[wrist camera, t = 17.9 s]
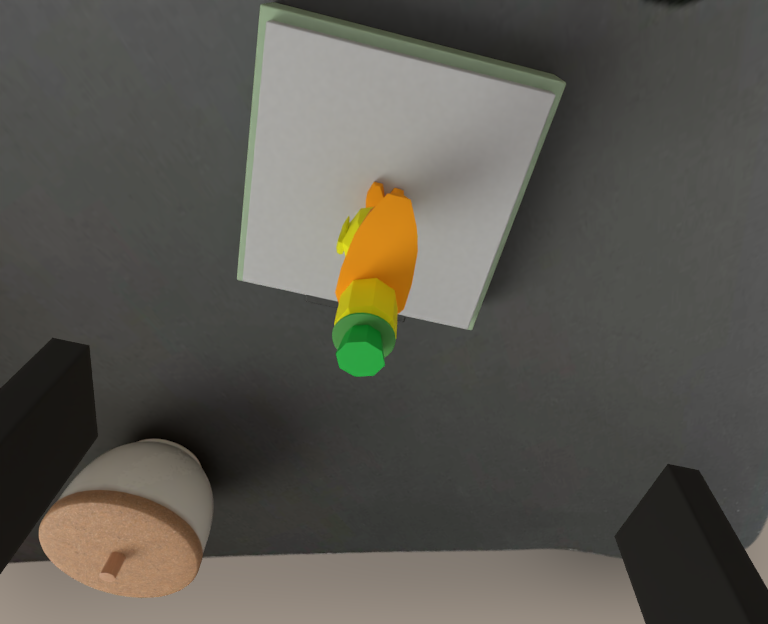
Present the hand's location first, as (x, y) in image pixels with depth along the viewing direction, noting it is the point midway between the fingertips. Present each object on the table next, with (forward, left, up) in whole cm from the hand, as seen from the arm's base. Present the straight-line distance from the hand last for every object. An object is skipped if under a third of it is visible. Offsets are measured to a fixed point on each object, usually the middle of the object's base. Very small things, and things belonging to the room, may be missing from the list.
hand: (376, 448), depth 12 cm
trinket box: (+13, +27, -20) cm, 36 cm away
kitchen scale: (+1, 0, -20) cm, 20 cm away
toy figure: (0, 0, -17) cm, 17 cm away
